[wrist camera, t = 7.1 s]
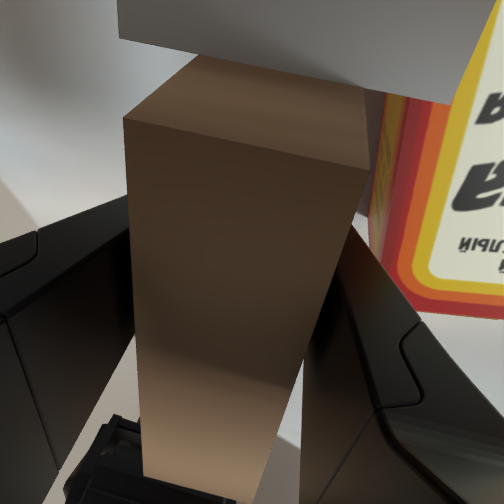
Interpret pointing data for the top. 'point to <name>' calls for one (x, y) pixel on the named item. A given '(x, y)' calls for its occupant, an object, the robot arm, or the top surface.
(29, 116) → the top surface
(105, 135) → the top surface
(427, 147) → the baking soda box
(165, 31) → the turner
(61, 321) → the robot arm
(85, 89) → the top surface
